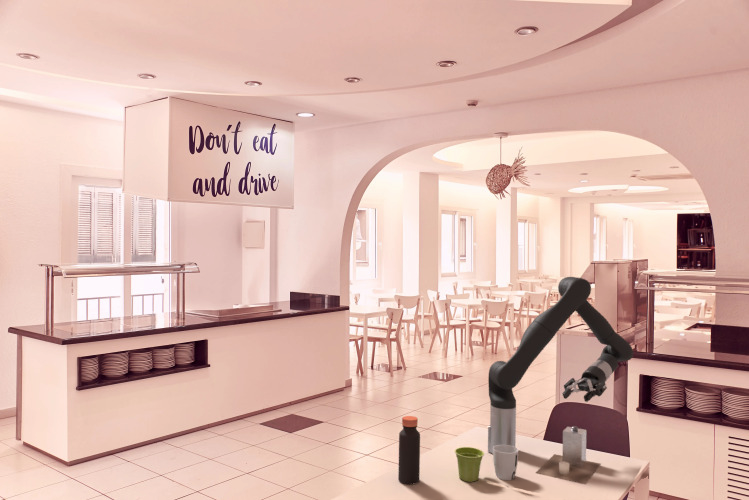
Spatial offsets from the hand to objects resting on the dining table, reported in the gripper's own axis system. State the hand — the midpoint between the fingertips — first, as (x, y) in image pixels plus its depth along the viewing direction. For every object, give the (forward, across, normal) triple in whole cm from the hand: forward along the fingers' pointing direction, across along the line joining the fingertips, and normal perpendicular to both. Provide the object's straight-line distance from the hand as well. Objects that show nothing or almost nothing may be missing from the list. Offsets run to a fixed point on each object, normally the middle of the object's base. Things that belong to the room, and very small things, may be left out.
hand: (574, 398), depth 201 cm
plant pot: (+47, -12, +3) cm, 49 cm away
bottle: (+63, -22, -5) cm, 66 cm away
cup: (+39, -5, +7) cm, 40 cm away
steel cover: (+11, 0, +19) cm, 22 cm away
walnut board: (+17, +2, +17) cm, 25 cm away
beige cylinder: (+22, +4, +14) cm, 27 cm away
